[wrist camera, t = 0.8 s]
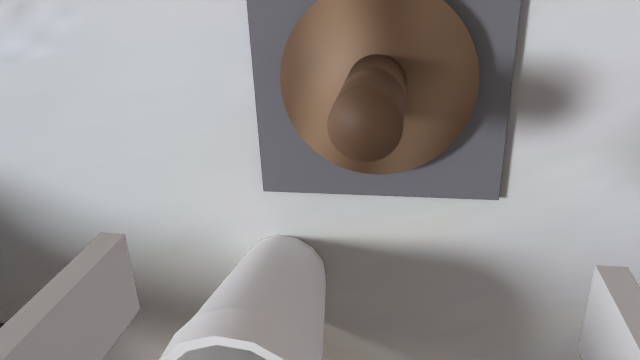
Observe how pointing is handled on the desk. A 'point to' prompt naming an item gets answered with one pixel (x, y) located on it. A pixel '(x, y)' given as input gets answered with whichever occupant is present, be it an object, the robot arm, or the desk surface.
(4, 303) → the desk surface
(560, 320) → the desk surface
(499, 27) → the mat
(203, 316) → the foam cup
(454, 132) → the lid
